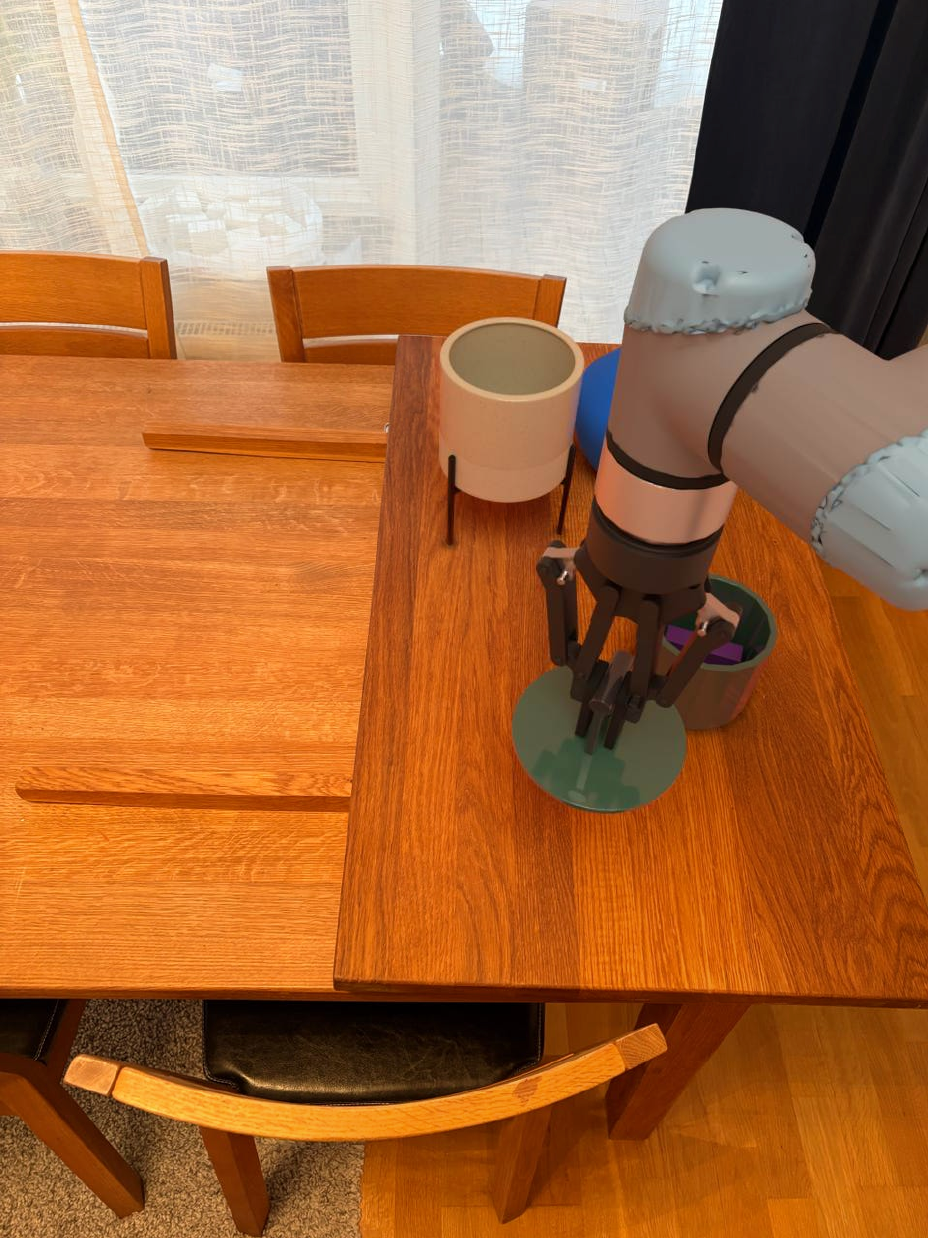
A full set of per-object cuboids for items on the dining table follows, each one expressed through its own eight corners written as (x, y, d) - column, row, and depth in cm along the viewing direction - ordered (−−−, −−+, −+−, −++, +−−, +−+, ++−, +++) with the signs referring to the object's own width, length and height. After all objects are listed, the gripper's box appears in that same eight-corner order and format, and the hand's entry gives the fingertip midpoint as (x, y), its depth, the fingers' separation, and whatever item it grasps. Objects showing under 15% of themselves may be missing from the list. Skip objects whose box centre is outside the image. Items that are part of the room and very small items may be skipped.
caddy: (758, 661, 94) (789, 599, 86) (729, 748, 87) (759, 689, 79) (651, 621, 97) (671, 557, 89) (614, 701, 90) (632, 640, 82)
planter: (543, 466, 114) (564, 308, 96) (572, 552, 104) (601, 394, 86) (430, 476, 112) (429, 316, 94) (448, 565, 102) (451, 405, 84)
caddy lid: (704, 708, 70) (732, 643, 63) (651, 848, 62) (677, 790, 55) (550, 647, 73) (561, 580, 67) (482, 772, 65) (486, 710, 59)
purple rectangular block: (730, 684, 91) (733, 668, 93) (740, 661, 88) (743, 646, 90) (656, 662, 93) (660, 647, 94) (664, 639, 90) (668, 624, 91)
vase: (544, 434, 118) (572, 218, 95) (664, 412, 122) (719, 200, 99) (597, 524, 107) (643, 305, 84) (727, 496, 111) (804, 280, 88)
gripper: (804, 504, 48) (705, 729, 67) (564, 428, 52) (531, 659, 70) (773, 592, 44) (676, 807, 62) (514, 501, 48) (493, 728, 66)
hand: (599, 728), depth 66 cm, fingers closed on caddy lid, 2 cm apart
